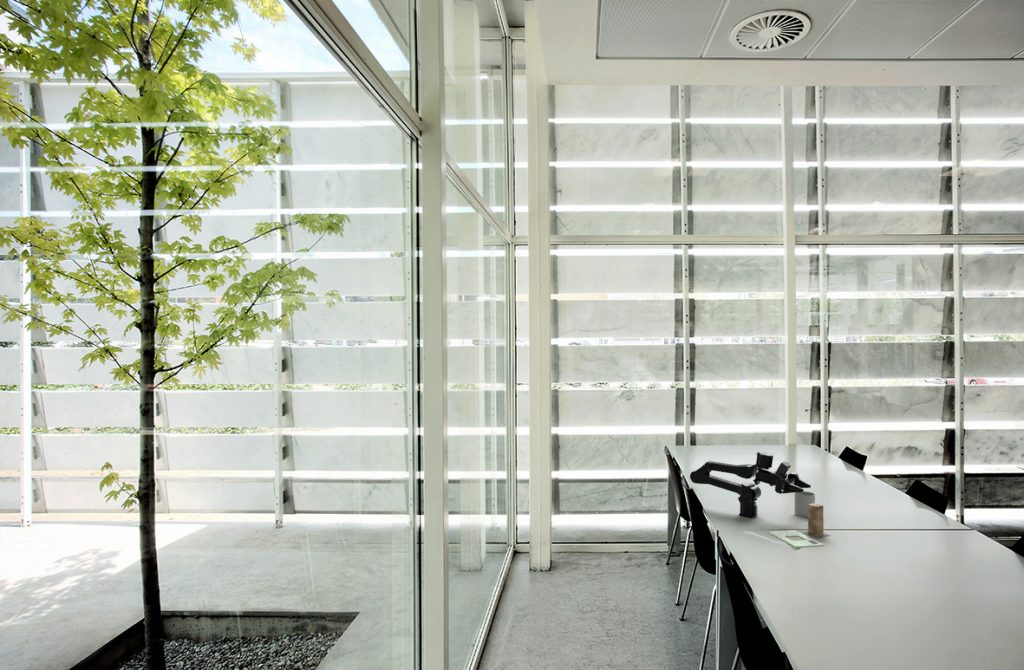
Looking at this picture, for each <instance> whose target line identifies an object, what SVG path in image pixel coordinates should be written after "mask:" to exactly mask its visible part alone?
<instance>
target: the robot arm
mask: <svg viewBox="0 0 1024 670" xmlns="http://www.w3.org/2000/svg"><path fill="white" fill-rule="evenodd" d="M773 463H774V453H770V452H764V451H763V452H762V451H758V452H756V461H755V463H753V464H751V463H750V464H747V463H746V464H745V463H744V464H733V463H732V464H730V463H727V462H726V463H725V462H720V461H719V462H718V461H713V460H708V461H706V462H705V463H704V464H702V466H700V467H699V468H697V469H696V470H694V471H693V470H692V472H691V473H690V474H689V479H690V481H691V482H692V483H693V484H698V485H711V486H713V487H716V488H719V489H722V490H726V491H729V492H733V493H736V494H738V495H739V496H738V497H737V500H738V501H739V502H738V503H739V513H738V516H739V517H747V518H752V519H754V518H755V517H756V516H758V505H757V501H758V498H760V497H761V495H762V489H761V488H760V487H759V486H758V485H760V484H761V483H763V484H767V485H769V487H774V491H775V494H780V495H782V494H795V492H803V491H804V490H805V489H811V484H809V483H807V482H806V481H804V480H802V479H801V478H800V477H799V474H798V472H794V471H792V472H790V473H787V472H788V471H789V469H790V468H791V467H792V465H791V464H790V463H789V462H787V461H782V462H780V464H779V465H778V468H777V469H776V470H775V471H770V469H771V468H773ZM712 471H714V472H720V473H726V474H731V475H736V476H737V477H739V478H742V479H745V480H750V479H752V478H754V479H753V480H752V481H753V482H754V483H751V482H749V481H744V482H743V483H738V482H735V481H731V480H728V479H725V478H721V477H718V476H714V475H713V474H711V472H712Z"/></svg>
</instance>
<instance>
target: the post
mask: <svg viewBox="0 0 1024 670" xmlns="http://www.w3.org/2000/svg"><path fill="white" fill-rule="evenodd" d="M807 519H808V520H807V522H808V525H807V526H808V527H807V532H808V534H810V535H814V536H817V537H818V536H822V535H824V534H825V532H824V504H823V505H822V504H818V503H816V502H815V503H813V504H808V517H807Z"/></svg>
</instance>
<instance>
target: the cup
mask: <svg viewBox="0 0 1024 670" xmlns="http://www.w3.org/2000/svg"><path fill="white" fill-rule="evenodd" d="M813 503H816V494H815V493H814V492H810V491H803V492H795V493H794V515H795V516H796V517H806V518H808V504H813Z"/></svg>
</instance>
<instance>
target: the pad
mask: <svg viewBox="0 0 1024 670" xmlns="http://www.w3.org/2000/svg"><path fill="white" fill-rule="evenodd" d="M801 533H802V534H804V535H806V536H808V537H810V538H815V539H818V540H821V539H824V538H829V537H831V536H832V535H830V534H828V533H824V535H822V536H818V537H817V536H814V535H810V534H808V531H806V532H801Z"/></svg>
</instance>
